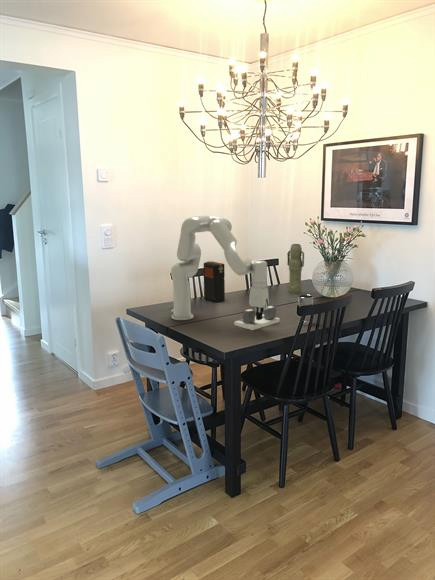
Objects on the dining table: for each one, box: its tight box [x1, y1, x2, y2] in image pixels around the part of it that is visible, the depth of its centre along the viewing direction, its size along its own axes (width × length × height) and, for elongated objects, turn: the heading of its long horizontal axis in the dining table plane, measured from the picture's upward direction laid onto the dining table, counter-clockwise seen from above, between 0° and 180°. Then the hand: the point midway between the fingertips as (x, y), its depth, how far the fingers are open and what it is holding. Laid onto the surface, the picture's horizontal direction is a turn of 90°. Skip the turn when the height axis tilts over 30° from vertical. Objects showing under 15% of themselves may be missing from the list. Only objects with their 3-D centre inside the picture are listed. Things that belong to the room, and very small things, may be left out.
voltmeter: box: [203, 260, 226, 303], centre depth 305 cm, size 16×9×25 cm, turn 34°
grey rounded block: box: [242, 308, 256, 323], centre depth 246 cm, size 4×5×6 cm
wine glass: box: [297, 294, 314, 324], centre depth 250 cm, size 8×8×15 cm
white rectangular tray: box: [233, 313, 281, 331], centre depth 251 cm, size 13×22×2 cm, turn 133°
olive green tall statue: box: [286, 243, 305, 296], centre depth 317 cm, size 9×12×35 cm
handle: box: [263, 305, 277, 320], centre depth 252 cm, size 4×5×6 cm
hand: (259, 319), depth 241 cm, fingers closed
